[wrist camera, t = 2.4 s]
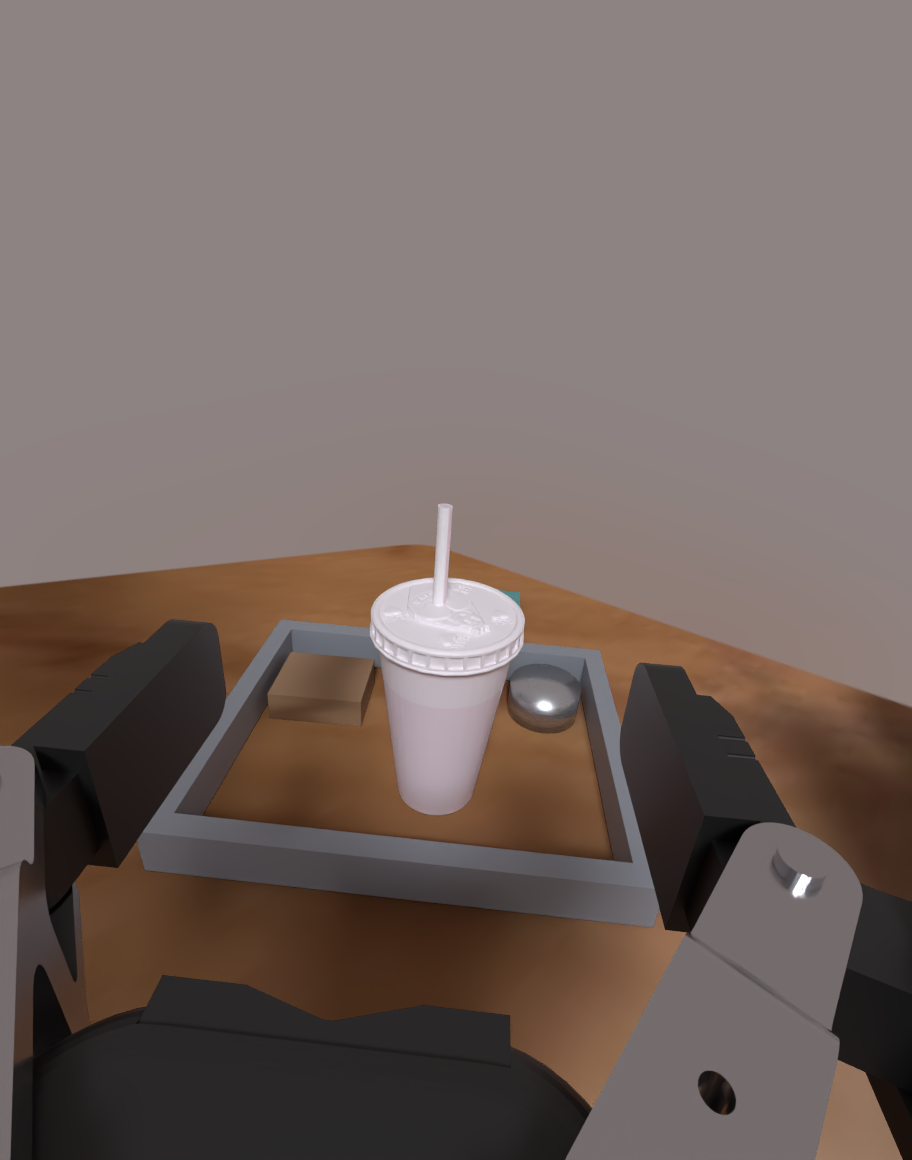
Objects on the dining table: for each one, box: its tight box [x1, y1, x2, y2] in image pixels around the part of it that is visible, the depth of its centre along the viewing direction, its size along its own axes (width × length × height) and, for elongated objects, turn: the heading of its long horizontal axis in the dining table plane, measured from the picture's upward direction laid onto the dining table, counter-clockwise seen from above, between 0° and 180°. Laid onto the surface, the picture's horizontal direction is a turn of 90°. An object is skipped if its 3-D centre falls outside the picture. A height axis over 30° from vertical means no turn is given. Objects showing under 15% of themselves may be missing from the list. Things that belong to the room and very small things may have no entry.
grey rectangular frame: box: [137, 620, 660, 927], centre depth 29 cm, size 20×16×2 cm
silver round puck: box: [507, 664, 581, 733], centre depth 33 cm, size 4×4×2 cm
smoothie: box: [370, 504, 525, 815], centre depth 24 cm, size 6×6×14 cm
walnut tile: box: [267, 652, 375, 726], centre depth 32 cm, size 5×4×2 cm
